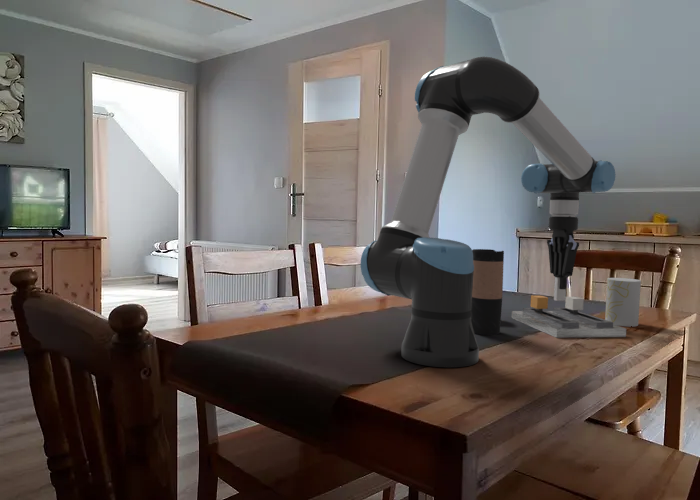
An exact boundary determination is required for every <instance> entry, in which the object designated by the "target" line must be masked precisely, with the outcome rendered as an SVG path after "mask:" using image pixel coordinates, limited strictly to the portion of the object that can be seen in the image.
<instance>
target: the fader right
mask: <svg viewBox="0 0 700 500" xmlns="http://www.w3.org/2000/svg"><path fill="white" fill-rule="evenodd" d="M564 302H565V304H564V305H565V307H564V308H568V309H570V312H571V313H574V314H577V315H578V311H583V310H584V298H582V297H578V296H566V301H564Z"/></svg>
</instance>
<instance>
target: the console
mask: <svg viewBox="0 0 700 500" xmlns="http://www.w3.org/2000/svg"><path fill="white" fill-rule="evenodd" d="M511 319H513V320H514V321H517V322H519V323H522V324H524V325H526V326H528V327H531V328H533V329H536V330H538V331H540V332H543V333H545V334H547V335H549V336H552V337H554V338H557V339H558V338H559V339H560V338H562V339H563V338H564V339H565V338H567V339H568V338H569V339H570V338H571V339H572V338H627V328H626V327H624V326H617V325H613V322H611V321H607V320H605V318H602V317H601V318H600V317H598V316H594V315H591V314H588V313H585V312H582V311H580V310H578V315H577V314H574V313H571V312H570V309H568V308H565V307H553V309H552V310H546V309H543V312H542V313H539V312H537V311H535V308H533V307H522V310H512V311H511Z"/></svg>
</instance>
